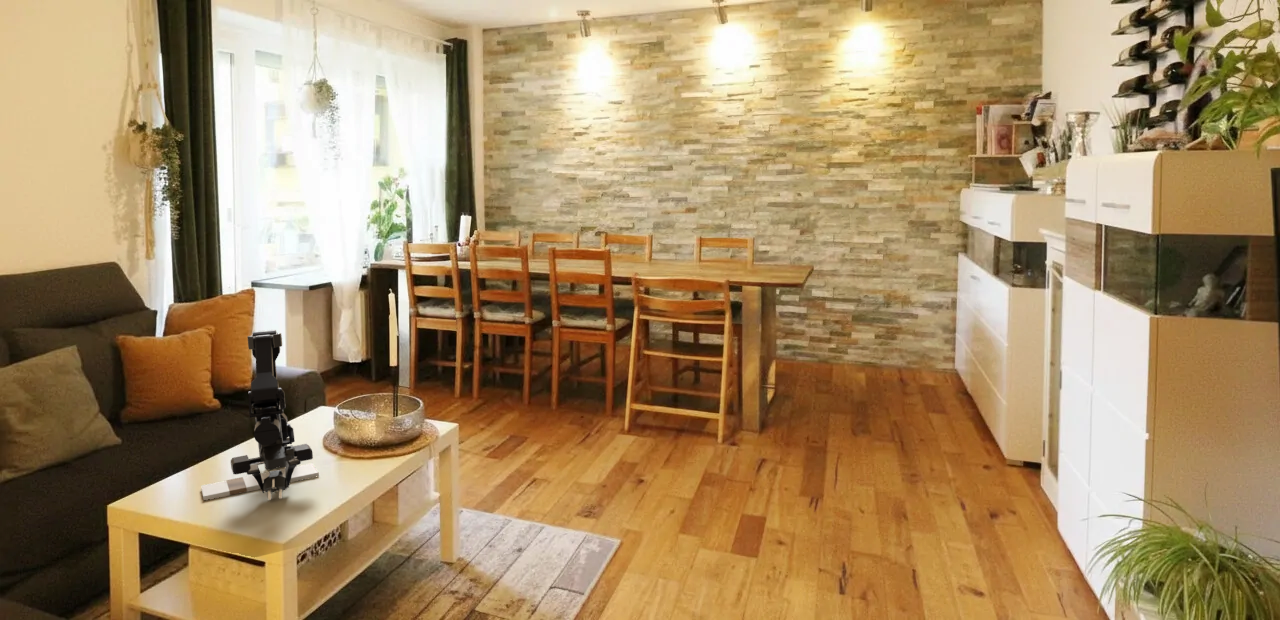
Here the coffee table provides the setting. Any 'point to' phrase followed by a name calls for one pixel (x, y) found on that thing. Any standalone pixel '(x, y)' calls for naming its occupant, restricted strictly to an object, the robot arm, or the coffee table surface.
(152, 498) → the coffee table surface
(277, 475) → the power plug
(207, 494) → the board
